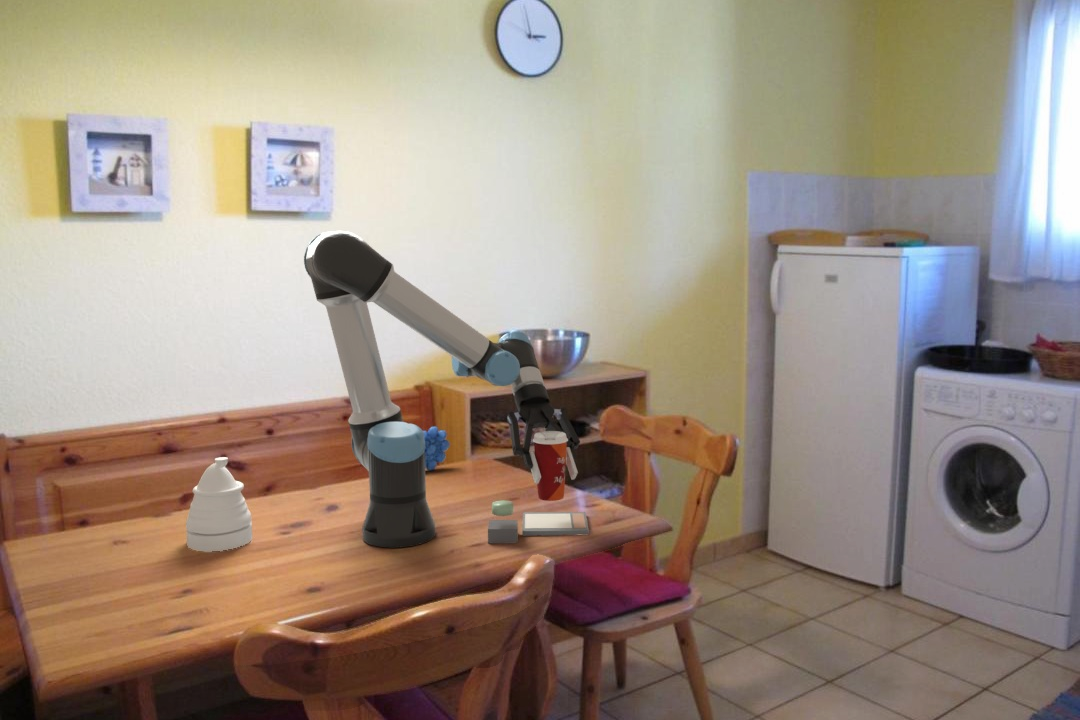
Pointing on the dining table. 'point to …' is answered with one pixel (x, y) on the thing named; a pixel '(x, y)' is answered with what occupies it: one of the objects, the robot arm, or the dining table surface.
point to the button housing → (503, 531)
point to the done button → (502, 508)
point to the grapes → (435, 447)
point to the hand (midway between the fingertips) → (556, 478)
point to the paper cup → (551, 464)
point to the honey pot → (218, 512)
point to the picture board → (554, 523)
